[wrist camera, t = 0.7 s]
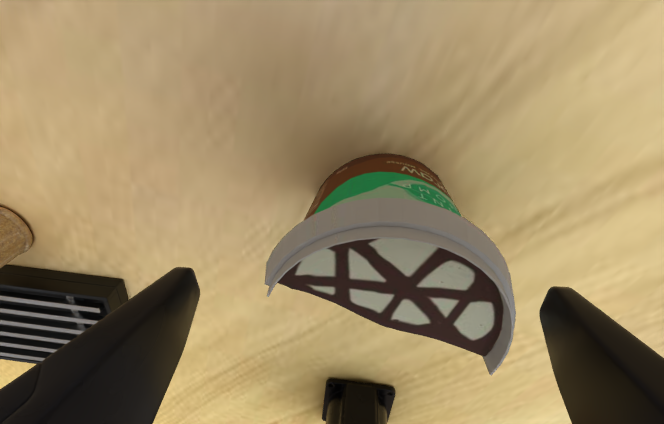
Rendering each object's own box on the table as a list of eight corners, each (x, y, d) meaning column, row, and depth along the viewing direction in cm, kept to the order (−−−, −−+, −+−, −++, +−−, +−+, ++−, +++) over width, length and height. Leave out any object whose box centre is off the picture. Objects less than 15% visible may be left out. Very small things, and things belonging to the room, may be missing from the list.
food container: (511, 180, 23) (596, 292, 14) (458, 251, 26) (501, 379, 17) (328, 102, 21) (300, 175, 13) (295, 188, 25) (255, 292, 16)
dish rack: (145, 356, 36) (92, 441, 29) (-32, 333, 36) (-124, 411, 30) (123, 279, 30) (52, 360, 24) (-83, 253, 31) (-209, 325, 24)
